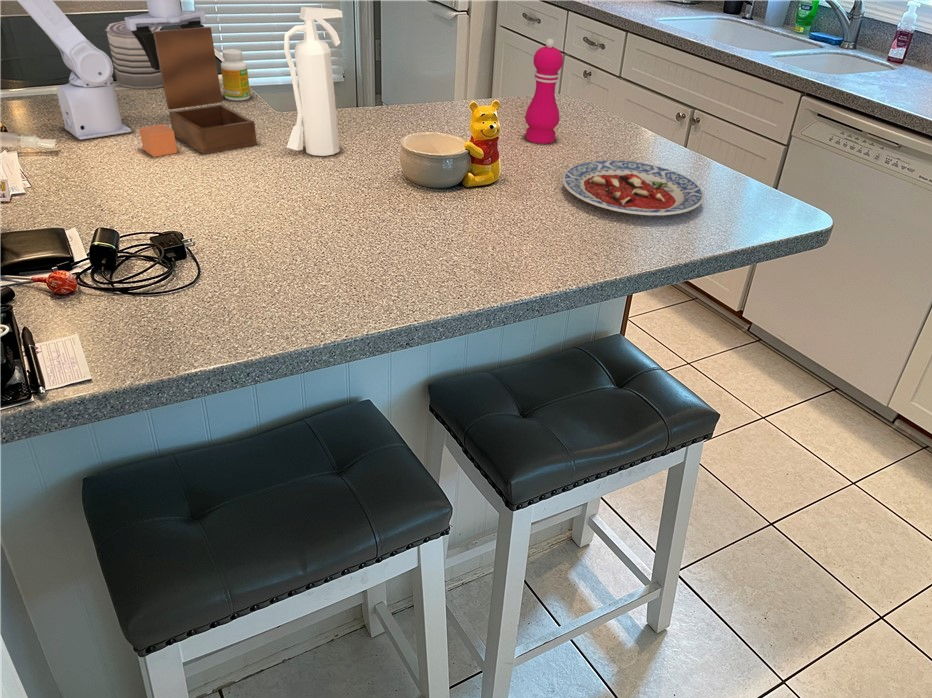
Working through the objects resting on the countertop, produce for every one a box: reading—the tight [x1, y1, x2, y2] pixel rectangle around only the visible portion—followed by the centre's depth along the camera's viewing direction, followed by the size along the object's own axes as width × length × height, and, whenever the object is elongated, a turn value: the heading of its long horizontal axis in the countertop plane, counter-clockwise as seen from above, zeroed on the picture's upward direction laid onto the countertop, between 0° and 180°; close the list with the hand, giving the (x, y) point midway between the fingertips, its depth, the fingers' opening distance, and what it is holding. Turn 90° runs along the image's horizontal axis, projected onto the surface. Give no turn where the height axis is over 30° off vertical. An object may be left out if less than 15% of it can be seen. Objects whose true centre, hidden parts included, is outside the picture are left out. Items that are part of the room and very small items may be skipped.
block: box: [138, 123, 178, 158], centre depth 139 cm, size 4×4×4 cm
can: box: [104, 20, 164, 90], centre depth 171 cm, size 11×11×12 cm
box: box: [169, 104, 258, 155], centre depth 147 cm, size 13×11×4 cm
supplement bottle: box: [220, 48, 251, 102], centre depth 168 cm, size 5×5×10 cm
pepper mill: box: [524, 38, 564, 145], centre depth 159 cm, size 7×7×20 cm
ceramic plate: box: [561, 159, 705, 216], centre depth 140 cm, size 26×26×3 cm
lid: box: [153, 26, 223, 111], centre depth 145 cm, size 14×11×1 cm
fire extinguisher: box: [283, 6, 343, 157], centre depth 140 cm, size 7×12×25 cm, turn 123°
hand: (175, 66), depth 149 cm, fingers open, 7 cm apart
